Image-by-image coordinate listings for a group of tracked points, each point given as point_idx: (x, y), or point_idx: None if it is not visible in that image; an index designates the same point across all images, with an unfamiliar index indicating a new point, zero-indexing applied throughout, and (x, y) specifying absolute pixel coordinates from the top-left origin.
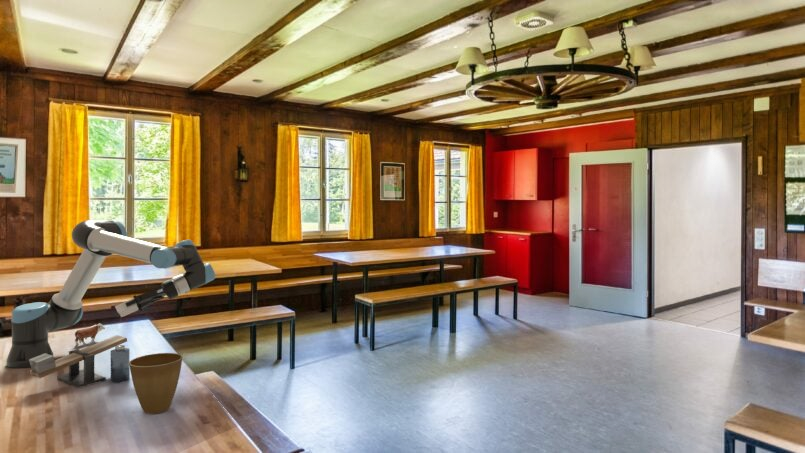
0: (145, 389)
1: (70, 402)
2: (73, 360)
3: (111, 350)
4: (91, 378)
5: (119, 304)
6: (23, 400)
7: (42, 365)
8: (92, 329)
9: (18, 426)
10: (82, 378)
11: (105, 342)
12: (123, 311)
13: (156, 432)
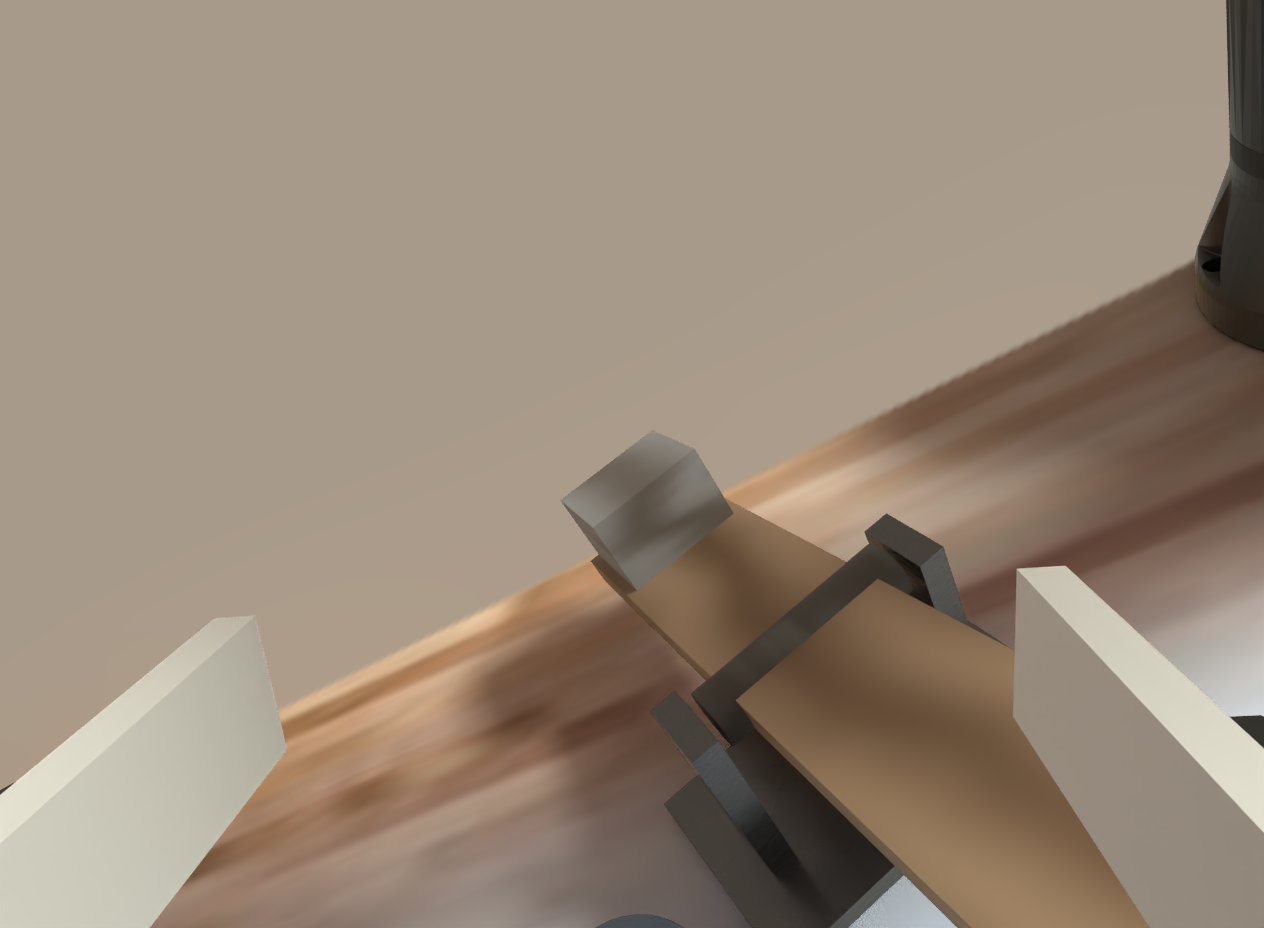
0: None
1: (414, 862)
2: (678, 646)
3: (655, 917)
4: (755, 852)
5: (163, 666)
6: (573, 614)
7: (586, 532)
8: None
9: None
10: None
11: (987, 740)
12: (1055, 675)
13: None
